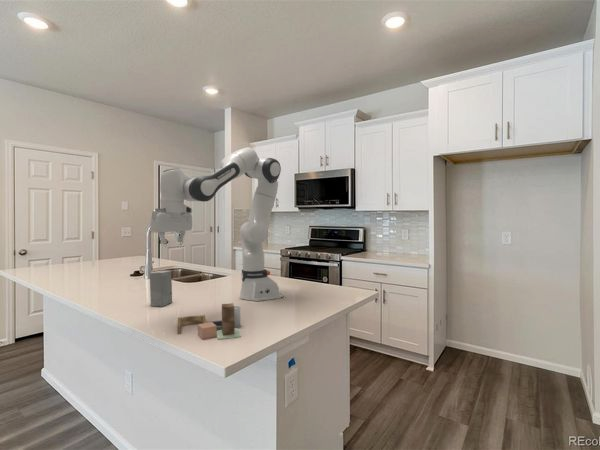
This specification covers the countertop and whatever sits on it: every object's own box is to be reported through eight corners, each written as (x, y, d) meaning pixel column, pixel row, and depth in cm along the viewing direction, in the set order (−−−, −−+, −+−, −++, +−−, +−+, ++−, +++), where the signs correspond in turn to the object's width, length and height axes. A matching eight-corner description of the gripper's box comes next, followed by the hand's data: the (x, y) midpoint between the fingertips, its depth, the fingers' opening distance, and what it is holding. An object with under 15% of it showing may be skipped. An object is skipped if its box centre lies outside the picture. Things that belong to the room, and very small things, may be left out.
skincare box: (162, 307, 150) (162, 273, 150) (148, 306, 152) (148, 272, 151) (173, 302, 158) (173, 269, 158) (160, 301, 160) (159, 269, 159)
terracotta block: (211, 332, 119) (211, 321, 119) (216, 336, 115) (216, 325, 115) (197, 335, 116) (197, 324, 116) (202, 340, 112) (202, 328, 112)
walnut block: (233, 330, 120) (233, 303, 119) (234, 334, 116) (234, 306, 116) (221, 331, 118) (221, 304, 118) (222, 335, 115) (222, 307, 114)
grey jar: (239, 323, 129) (239, 305, 128) (241, 327, 124) (241, 309, 124) (228, 324, 127) (228, 307, 127) (229, 328, 123) (229, 310, 123)
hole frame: (226, 323, 128) (226, 319, 128) (228, 330, 121) (228, 326, 121) (206, 325, 126) (206, 321, 126) (207, 332, 119) (207, 328, 119)
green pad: (237, 329, 122) (237, 328, 122) (241, 337, 115) (241, 335, 115) (215, 331, 120) (215, 330, 119) (217, 339, 112) (217, 338, 112)
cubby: (204, 322, 130) (204, 314, 130) (206, 330, 120) (206, 322, 120) (178, 325, 126) (177, 317, 126) (177, 334, 117) (177, 325, 117)
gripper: (159, 208, 122) (159, 245, 122) (194, 209, 141) (195, 241, 141) (145, 208, 124) (146, 244, 125) (183, 209, 143) (183, 240, 144)
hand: (172, 242), depth 133 cm, fingers open, 8 cm apart
